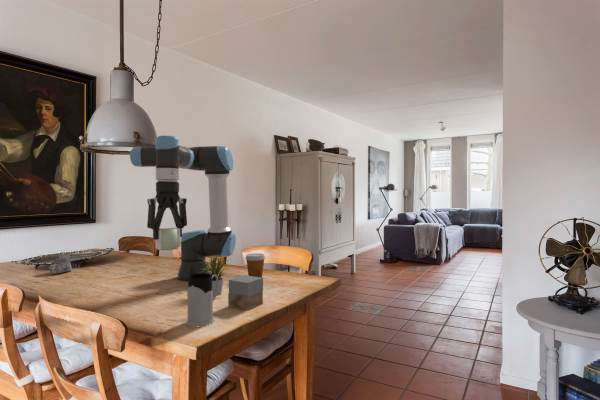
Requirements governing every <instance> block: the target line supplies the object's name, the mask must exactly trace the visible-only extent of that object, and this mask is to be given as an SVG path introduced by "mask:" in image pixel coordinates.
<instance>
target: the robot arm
mask: <svg viewBox="0 0 600 400" xmlns="http://www.w3.org/2000/svg"><path fill="white" fill-rule="evenodd" d="M179 141H180V140H179V138H178V136H174V135H158V136H156V138H155V146H135V147H132V148H131V149H130V152H129V159H130V162H131V164H132V165H133V166H134V167H140V168H147V167H149V168H150V167H155V180H156V182H155V192H156V194H155V197H153V198H148V199H147V200H146V201H147V205H148V210H147V224H146V227H147V228H148V229H151V230H152V238H153V240H155V242H154V243H155V247H154V248H155V249H156V250H158V249H162V230H159V229H161V224H162V221H163V218H164V215H165V212H166V210H167V209H169V210H170V211H171V212H170V213H171V214H172V219H173V221H174V224H175V228H177V229H178V248H180V257H181V258H180V265H179V269H178V272H177V279H178V280H179V281H187V282H188V276H189V275H193V274H201V273H205V271H208V272H209V270H205V271H204V270H202V269H208V268H209V267H208V266H207V265H206V264H207V263H206V262H207V261H206V258H207V257H210V258H213V256H214V257H216V256H217V258H218V257H219V258H225V257H226V258H227V257H228V258H229V257H231V256H232V255H233V253H234V251H235V249H236V243H237V242H236V240H237V237H236V233H234V232H232V228H231V227H230V226H229V210H228V186H227V185H228V183H227V181H228V180H227V179H228V177H229V175H230V171H232V170H233V169H234V158H233V154H232V152H231V149H230V148H229V147H227V146H222V145H217V146H213V145H211V146H209V145H208V146H193V147H186V146H184V145H183V146H181V145H180V142H179ZM180 169H183V170H191V171H199V172H200V171H202V172H204V175H205V176H206V177H207V178H208V198H209V199H208V200H209V205H208V206H209V220H210V221H209V223H210V224H209V225H210V227H209V228H208V229H207V231H206V230H205V229H200V230H193V231H187V232H186V231H185V232H183V229H184V227H187V225H188V221H187V220H188V219H187V218H188V217H187V207H186V206H187V205H186V204H187V201H188V200H187V198H183V197H180V195H179V192H180V182H178V181H179V180H180V177H179V176H180ZM157 204H158V205H157ZM156 206H157V210H156ZM199 258H200V259H199ZM204 260H205V261H206V262H205V261H204ZM202 262H203V263H202ZM204 263H205V265H206V266H207V267H208V268H207V267H206V266H205V265H204ZM199 268H200V269H199ZM201 271H203V272H201ZM208 272H207V273H208ZM207 273H206V274H207ZM209 273H210V272H209Z"/></svg>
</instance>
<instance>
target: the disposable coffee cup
mask: <svg viewBox="0 0 600 400" xmlns="http://www.w3.org/2000/svg"><path fill="white" fill-rule="evenodd" d="M265 259H266V256H265V253H258V252H257V253H256V252H255V253H254V252H253V253H247V254H246V256H245V260H246V267H247V276H253V277H260V278H263V272H264V263H265Z"/></svg>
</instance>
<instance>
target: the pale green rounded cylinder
mask: <svg viewBox="0 0 600 400" xmlns="http://www.w3.org/2000/svg"><path fill="white" fill-rule="evenodd" d="M159 230H162V249H157V250H158V251H174V250H177V249H179V247H178V229H177V227H163V228H162V227H160V228H159Z"/></svg>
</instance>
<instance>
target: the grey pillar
mask: <svg viewBox="0 0 600 400" xmlns="http://www.w3.org/2000/svg"><path fill="white" fill-rule="evenodd" d="M214 276H216V290H215V294H214V296H213V290H212V278H213V277H214ZM217 290H218V276H217V275H211V274H206V273H201V274H193V275H189V276H188V281H187V321H186V324H187V325H188V326H187V325H186V326H187V327H190V326H193V327H192V328H196V327H195V326H204V327H207V326H206V325H208V326H210V325H209V324H211V325H212V323H213V322H215V319H214V308H213V307H214V305H213V303H214V300H215V299H216V294H217ZM213 324H214V323H213Z"/></svg>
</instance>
